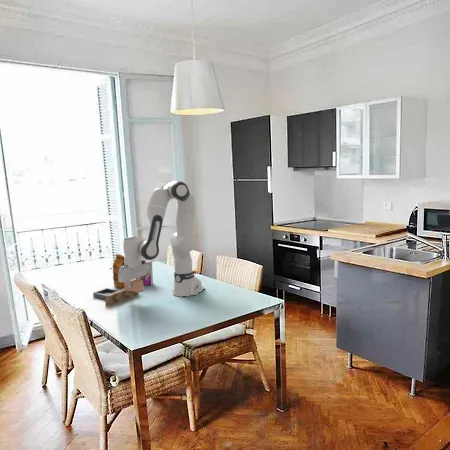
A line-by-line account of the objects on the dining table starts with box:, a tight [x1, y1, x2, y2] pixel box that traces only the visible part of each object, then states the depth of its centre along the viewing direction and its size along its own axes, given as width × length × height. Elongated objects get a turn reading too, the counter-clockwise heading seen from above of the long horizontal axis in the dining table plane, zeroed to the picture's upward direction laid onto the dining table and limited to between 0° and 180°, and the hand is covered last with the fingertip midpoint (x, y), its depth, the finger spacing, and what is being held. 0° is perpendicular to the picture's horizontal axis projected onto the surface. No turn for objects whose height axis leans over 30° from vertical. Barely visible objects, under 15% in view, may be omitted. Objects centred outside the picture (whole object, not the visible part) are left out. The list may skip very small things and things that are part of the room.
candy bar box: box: [135, 260, 154, 286], centre depth 268 cm, size 11×5×16 cm, turn 84°
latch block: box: [123, 279, 145, 293], centre depth 231 cm, size 4×12×6 cm, turn 57°
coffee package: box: [112, 253, 125, 290], centre depth 265 cm, size 10×12×22 cm
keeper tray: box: [92, 287, 119, 301], centre depth 245 cm, size 11×17×3 cm, turn 57°
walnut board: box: [104, 288, 140, 307], centre depth 238 cm, size 24×3×6 cm, turn 147°
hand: (133, 285), depth 232 cm, fingers closed on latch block, 4 cm apart
